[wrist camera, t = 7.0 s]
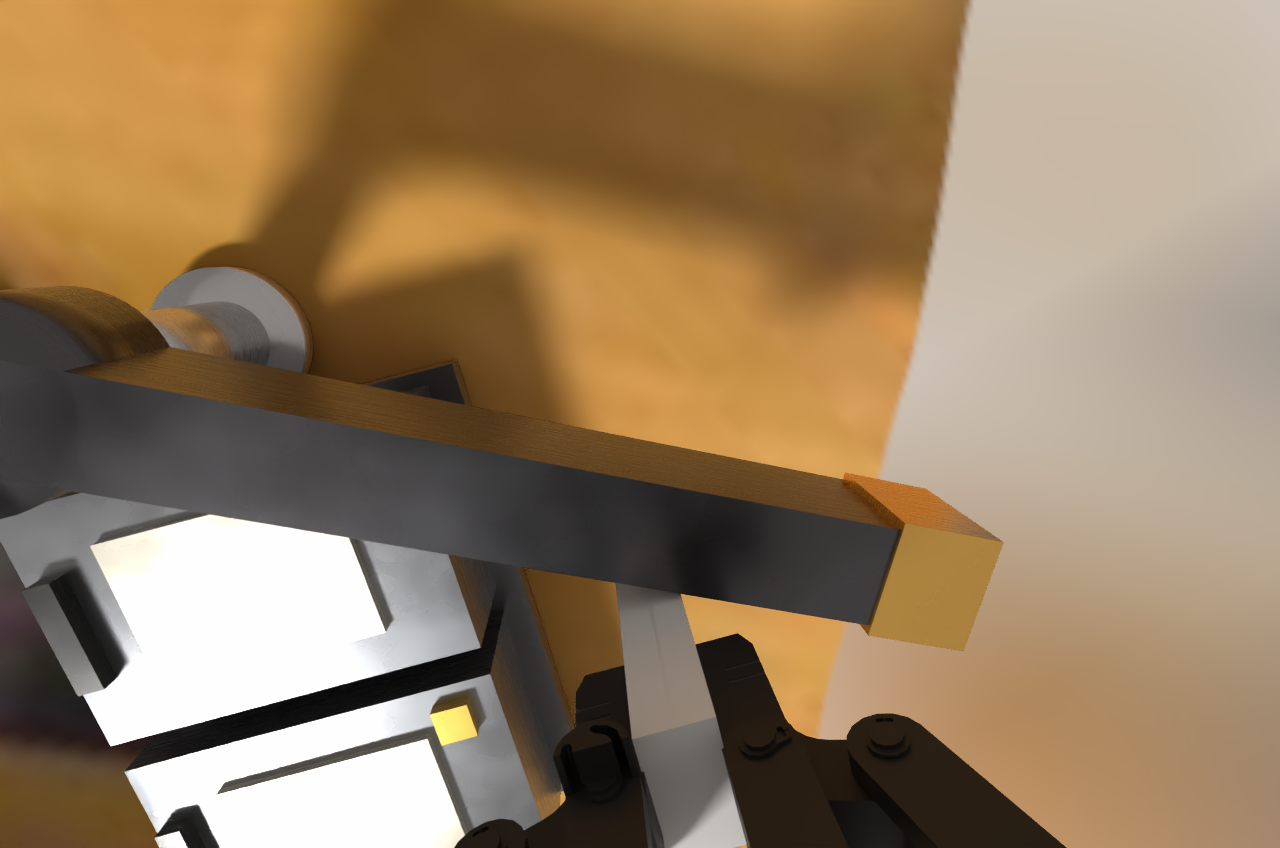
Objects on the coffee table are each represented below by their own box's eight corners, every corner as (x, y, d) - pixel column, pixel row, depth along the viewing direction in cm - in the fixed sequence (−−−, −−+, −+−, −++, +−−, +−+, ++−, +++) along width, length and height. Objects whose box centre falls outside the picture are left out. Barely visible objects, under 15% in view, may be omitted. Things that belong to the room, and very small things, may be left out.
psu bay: (265, 853, 29) (192, 992, 23) (72, 458, 24) (-76, 518, 19) (587, 766, 29) (588, 884, 24) (456, 359, 24) (420, 389, 19)
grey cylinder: (196, 426, 24) (40, 496, 17) (136, 287, 23) (-59, 302, 16) (334, 391, 24) (234, 446, 17) (281, 250, 23) (150, 249, 16)
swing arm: (-17, 448, 17) (-177, 500, 13) (-15, 267, 16) (-187, 271, 12) (886, 604, 20) (952, 680, 16) (935, 461, 19) (1015, 509, 15)
